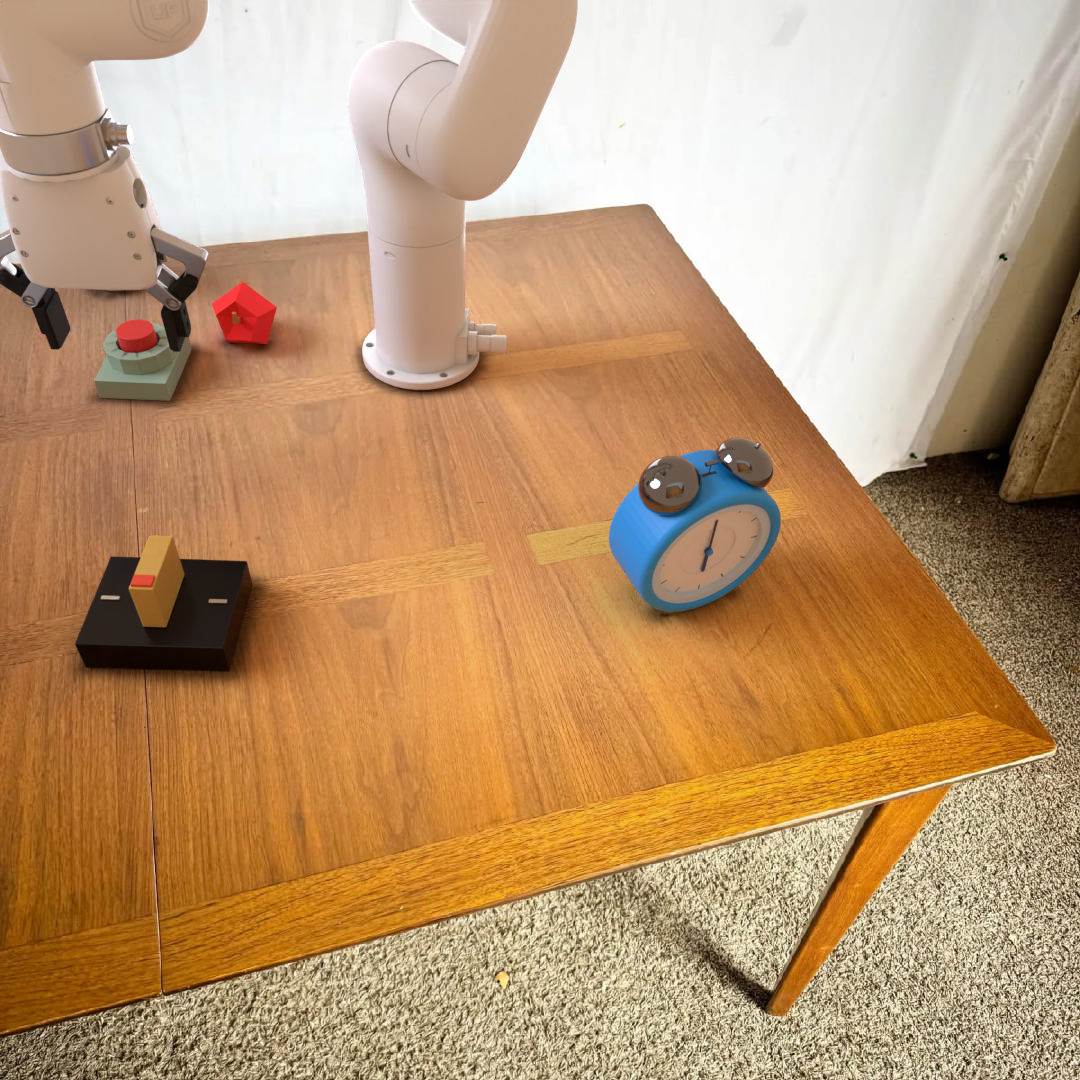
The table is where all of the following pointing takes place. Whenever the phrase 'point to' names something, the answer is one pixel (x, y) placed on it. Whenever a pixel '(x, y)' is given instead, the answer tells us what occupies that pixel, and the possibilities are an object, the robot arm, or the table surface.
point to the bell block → (141, 369)
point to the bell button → (136, 336)
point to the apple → (244, 315)
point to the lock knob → (157, 581)
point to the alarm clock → (697, 525)
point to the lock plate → (193, 628)
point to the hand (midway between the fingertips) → (120, 341)
